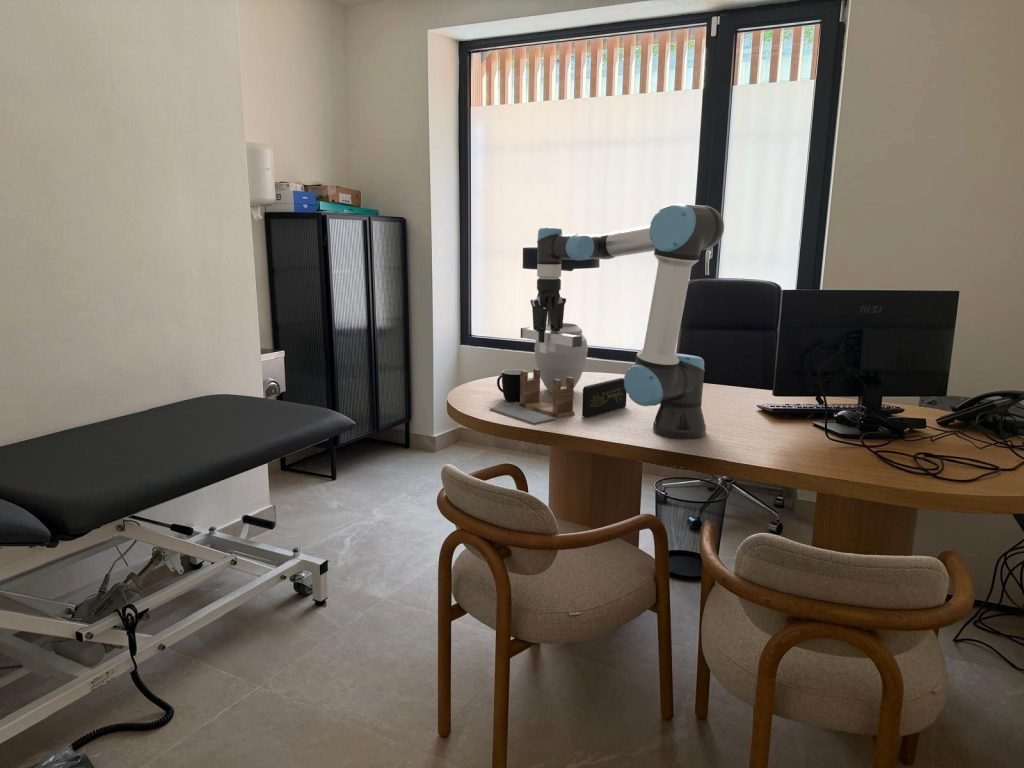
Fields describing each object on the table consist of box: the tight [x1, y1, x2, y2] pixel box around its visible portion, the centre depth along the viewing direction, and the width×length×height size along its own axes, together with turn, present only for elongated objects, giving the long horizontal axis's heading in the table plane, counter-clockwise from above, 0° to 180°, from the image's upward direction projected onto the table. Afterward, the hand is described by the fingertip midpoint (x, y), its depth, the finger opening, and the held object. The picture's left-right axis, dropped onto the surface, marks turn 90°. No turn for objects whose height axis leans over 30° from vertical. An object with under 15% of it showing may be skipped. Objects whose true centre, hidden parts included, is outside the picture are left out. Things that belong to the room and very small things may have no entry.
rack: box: [518, 368, 575, 419], centre depth 225 cm, size 20×7×12 cm, turn 39°
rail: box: [520, 326, 582, 347], centre depth 220 cm, size 25×3×3 cm, turn 39°
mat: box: [489, 404, 557, 426], centre depth 220 cm, size 22×9×1 cm, turn 39°
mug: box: [496, 368, 529, 403], centre depth 239 cm, size 12×9×10 cm
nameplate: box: [581, 377, 628, 419], centre depth 224 cm, size 21×2×10 cm, turn 135°
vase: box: [533, 322, 589, 393], centre depth 252 cm, size 20×20×24 cm
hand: (547, 351), depth 222 cm, fingers closed on rail, 3 cm apart
